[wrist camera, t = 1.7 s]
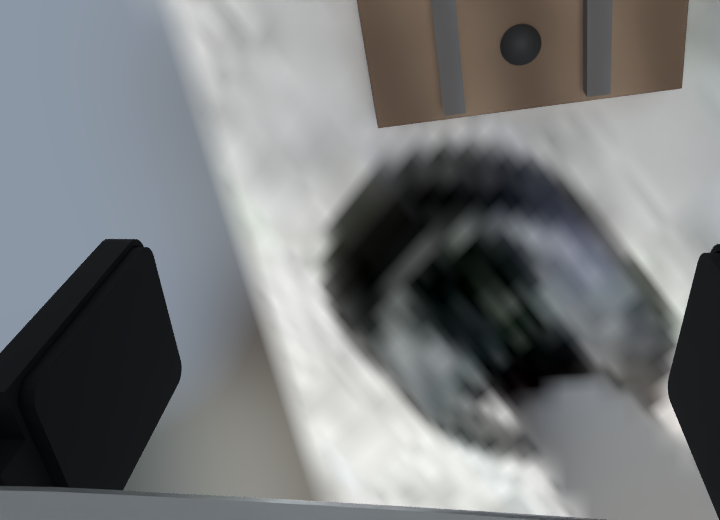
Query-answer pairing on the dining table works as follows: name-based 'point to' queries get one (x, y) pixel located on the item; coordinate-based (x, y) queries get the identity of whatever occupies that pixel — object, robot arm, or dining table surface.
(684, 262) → the dining table surface
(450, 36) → the bolt plate
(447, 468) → the dining table surface
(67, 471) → the robot arm
